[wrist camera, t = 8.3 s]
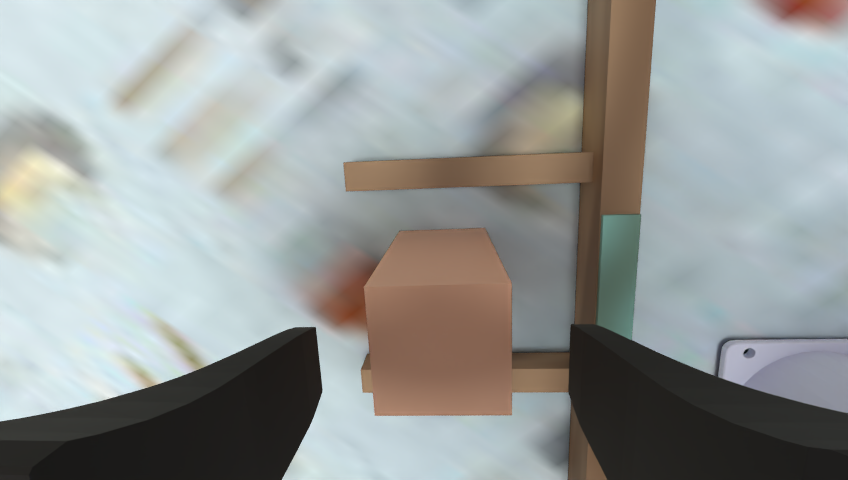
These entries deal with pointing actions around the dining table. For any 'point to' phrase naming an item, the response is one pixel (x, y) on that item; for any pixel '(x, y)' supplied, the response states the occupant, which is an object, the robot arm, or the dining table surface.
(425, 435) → the dining table surface
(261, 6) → the dining table surface
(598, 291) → the brown open frame
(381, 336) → the terracotta block
